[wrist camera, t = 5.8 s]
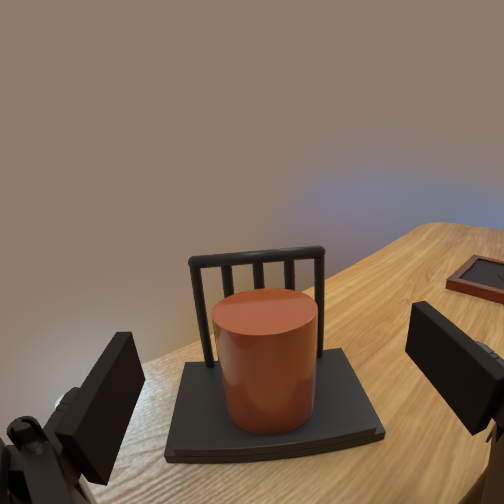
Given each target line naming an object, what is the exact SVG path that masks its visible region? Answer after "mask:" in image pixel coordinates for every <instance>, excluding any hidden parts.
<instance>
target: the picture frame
mask: <svg viewBox="0 0 504 504" xmlns="http://www.w3.org/2000/svg"><path fill="white" fill-rule="evenodd" d="M446 288H447V289H451V290H454V291H458V292H462V293H465V294H469V295H473V296H476V297H480V298H484V299H487V300H491V301H495V302H498V303H502V304H504V261H500V260H496V259H491V258H487V257H482V256H477V255H473V256H472V257H471V258H470V259H469V260H468V261H467V262H465V263H464V264H463V265H462V266H461V267H460V268H459V269H458V270H457V271H455V272H454V273H453V274H452V275H451V276H450V277H449V278H448V279H447V281H446Z"/></svg>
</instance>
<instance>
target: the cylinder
mask: <svg viewBox="0 0 504 504" xmlns="http://www.w3.org/2000/svg"><path fill="white" fill-rule="evenodd" d="M212 321H213V328H214V335H215V342H216V348H217V355H218V361H219V367H220V373H221V379H222V385H223V391H224V396H225V402H226V408H227V412H228V415H229V417H230V419H231V420H232V422H233V423H234V424H235V425H237V426H238V427H239V428H241V429H243V430H245V431H248V432H250V433H254V434H259V435H277V434H283V433H286V432H289V431H292V430H294V429H296V428H298V427H300V426H301V425H303V424H304V423H305V422H306V421H307V420H308V419H309V418H310V416H311V415H312V413H313V410H314V406H315V387H316V364H317V328H318V306H317V304H316V302H315V301H314V300H313V299H312V298H311V297H309V296H308V295H306V294H304V293H301V292H297V291H293V290H288V289H277V288H266V289H255V290H249V291H244V292H240V293H237V294H234V295H231V296H229V297H227V298H225V299H223V300H222V301H220V302H219V303H218V304H217V305H216V306H215V307H214V309H213V311H212Z"/></svg>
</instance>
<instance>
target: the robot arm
mask: <svg viewBox="0 0 504 504" xmlns="http://www.w3.org/2000/svg"><path fill="white" fill-rule="evenodd" d="M405 352H406V353H407V354H408V355H409V357H410V358H411V359H412V360H413V361H414V363H415V364H416V365H417V366H418V367H419V369H420V370H421V371H422V372H423V374H424V375H425V376H426V377H427V378H428V380H429V381H430V382H431V383H432V385H433V386H434V387H435V388H436V390H437V391H438V392H439V393H440V395H441V396H442V397H443V398H444V400H445V401H446V402H447V404H448V405H449V406H450V407H451V409H452V410H453V411H454V413H455V414H456V415H457V416H458V418H459V419H460V420H461V422H462V423H463V424H464V426H465V427H466V428H467V430H468V431H469V432H470V433H471V435H472V436H473V435H475V434H477V433H479V432H481V431H483V430H485V429H486V428H487V426H488V424H489V422H490V420H491V418H493V420H494V421H495V422H496V423H495V425H494V427H493V428H492V430H491V432H490V434H489V436H488V437H487V440H486V442H488V441H489V440H490V438H491V437H492V441H491V450H490V457H489V463H488V469H487V475H486V480H485V485H484V490H483V495H482V499H481V503H480V504H504V360H503V359H502V358H500V357H499V355H497V354H496V353H494V351H493V350H492V349H490V348H489V347H488V346H487V345H485V344H482V343H480V342H478V341H476V342H475V341H474V340H472V339H471V338H470V337H469V336H468V335H466V334H465V333H464V332H463V331H462V330H460V329H459V328H458V327H457V326H456V325H454V324H453V323H452V322H451V321H450V320H448V319H447V318H446V317H445V316H443V315H442V314H441V313H440V312H438V311H437V310H436V309H435V308H433V307H432V306H431V305H430V304H428V303H427V302H426V301H421V302H416V303H412V309H411V317H410V323H409V330H408V336H407V342H406V348H405ZM145 380H146V379H145V376H144V373H143V370H142V367H141V363H140V360H139V357H138V353H137V350H136V346H135V343H134V339H133V336H132V332H116V334H115V335H114V337H113V338H112V340H111V341H110V343H109V344H108V346H107V347H106V349H105V350H104V352H103V353H102V355H101V356H100V358H99V359H98V361H97V363H96V364H95V365H94V367H93V368H92V370H91V372H90V373H89V375H88V376H87V378H86V379H85V381H84V382H83V384H82V386H81V387H80V388H78V387H74V388H72V389H71V390H70V391H68V392H67V393H66V394H65V395H64V397H63V398H62V400H61V401H60V404H58V406H57V407H56V409H55V411H54V412H53V414H52V415H51V417H50V419H49V420H48V422H47V423H46V425H45V426H44V428H43V429H42V428H41V426H40V425H39V423H38V421H37V420H36V419H35V418H33V417H31V416H23V417H19V418H17V419H15V420H14V421H13V422H11V424H10V425H9V426H8V428H7V435H8V437H9V438H10V440H11V441H12V443H13V444H14V445H5V443H4V442H3V441H2V439H1V438H0V504H92V503H91V502H90V499H89V498H88V496H87V494H86V492H85V490H84V488H83V486H82V485H81V483H80V482H79V479H80V476H81V474H83V475H84V477H85V478H86V479H87V481H88V482H91V483H95V484H100V485H105V486H107V484H108V481H109V478H110V475H111V472H112V469H113V466H114V463H115V461H116V458H117V455H118V452H119V449H120V446H121V444H122V441H123V438H124V435H125V432H126V430H127V427H128V424H129V422H130V419H131V416H132V413H133V411H134V408H135V405H136V403H137V400H138V398H139V395H140V392H141V390H142V387H143V385H144V382H145Z"/></svg>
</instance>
